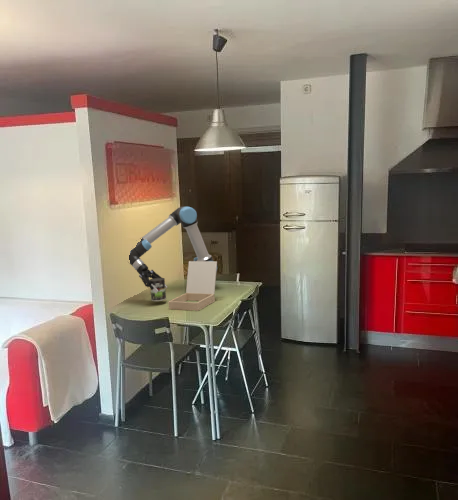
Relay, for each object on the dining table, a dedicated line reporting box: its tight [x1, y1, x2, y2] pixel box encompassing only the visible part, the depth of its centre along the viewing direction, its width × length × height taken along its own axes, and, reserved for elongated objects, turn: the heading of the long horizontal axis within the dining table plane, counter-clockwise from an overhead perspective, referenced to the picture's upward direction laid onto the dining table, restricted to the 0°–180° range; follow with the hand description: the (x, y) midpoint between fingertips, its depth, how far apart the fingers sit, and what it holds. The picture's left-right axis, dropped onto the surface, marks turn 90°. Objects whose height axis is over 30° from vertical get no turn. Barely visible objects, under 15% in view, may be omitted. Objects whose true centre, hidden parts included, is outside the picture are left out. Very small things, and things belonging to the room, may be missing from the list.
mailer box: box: [167, 260, 218, 312], centre depth 298 cm, size 30×22×26 cm
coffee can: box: [149, 277, 167, 302], centre depth 307 cm, size 10×10×14 cm
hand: (161, 290), depth 306 cm, fingers closed on coffee can, 10 cm apart
